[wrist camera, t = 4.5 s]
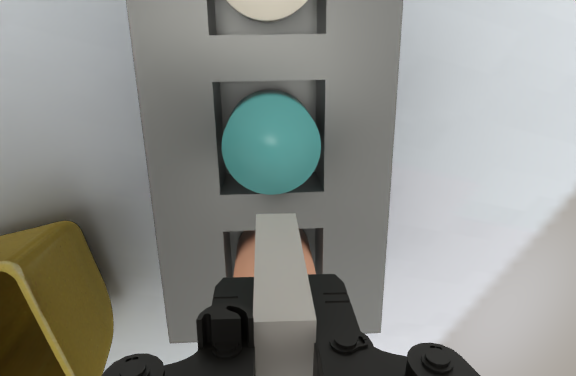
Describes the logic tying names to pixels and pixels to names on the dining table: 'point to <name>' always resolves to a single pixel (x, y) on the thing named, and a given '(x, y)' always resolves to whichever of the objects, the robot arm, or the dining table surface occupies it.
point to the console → (214, 117)
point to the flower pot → (52, 304)
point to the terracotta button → (247, 254)
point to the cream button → (266, 9)
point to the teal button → (271, 143)
